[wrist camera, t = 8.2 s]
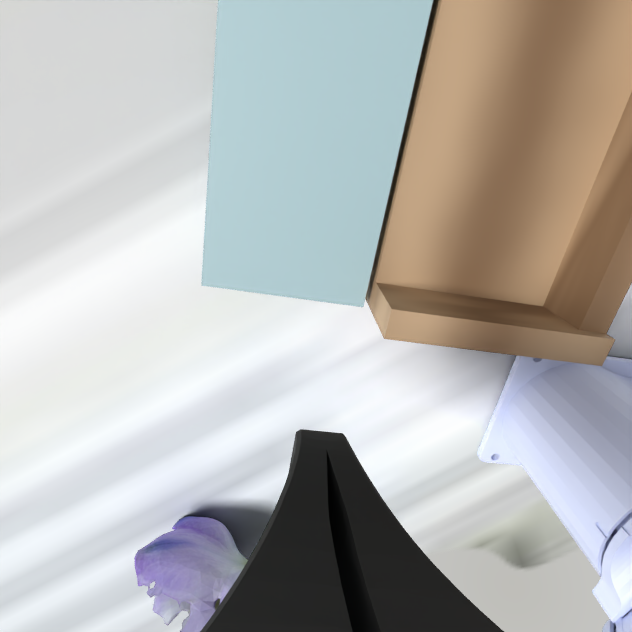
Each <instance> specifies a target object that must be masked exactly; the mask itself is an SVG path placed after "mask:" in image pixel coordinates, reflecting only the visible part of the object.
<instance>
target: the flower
mask: <svg viewBox="0 0 632 632" xmlns="http://www.w3.org/2000/svg"><path fill="white" fill-rule="evenodd" d="M172 529H175V530H174V531H171V532H168V533H166V534H163V535H161V536H160V537H158V538H156V539H155V540H154V541H152V542H151V543H150V544H148V545H147V546H145V547H143V548H142V549H140V550H138V552H137V554H136V556H135V569H136V574H137V579H138V586H142V585H146V586H148V591H147V594H148V595H149V596H150V597H152V596H154V595H155V600H154V606H153V611H154V612H155V613H157V614H158V615H160V616H161V617H162V618H164V622H165V624H166V625H169V624H170V622H171V621H172V620H173V619H174V618H175V617H176V616H177V615H178V614H179V612H181V611H182V610H183V611H188V613H189V616H188V617H187V618H186V619H185V620H184V621H183V623H182V629H181V631H180V632H200V631H201V630H202V629H203V627H204V626H205V625H206V623H207V622H208V621H209V619H210V618H211V616H212V615H213V614H214V612H215V611H216V609H217V608H218V606H219V605H220V603H221V602H222V600H223V599H224V597H225V596H226V594H227V593H228V591H229V590H230V588H231V587H232V585H233V584H234V582H235V581H236V579H237V578H238V576H239V574H240V573H241V571H242V570H243V568H244V566H245V565H246V563H247V561H248V559H246V558H245V557H244V556H243V555H242V554H241V553H240V552H239V551H238V549H237V547H236V544H235V542H234V540H233V537H232V535H231V534H230V532H229V531H228V529H227V528H226V526H225V525H224V524H222V523H221V522H220V521H218V520H215V519H212V518H208V517H193V516H188V517H184V518H181V519H179V521H178V522H177V523H176V524H175V525H174V526H173V527H172ZM153 581H155V583H156V584H155V586H154V588H152V589H150V587H149V586H150V584H151V583H152V582H153Z"/></svg>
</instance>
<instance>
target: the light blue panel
mask: <svg viewBox="0 0 632 632" xmlns="http://www.w3.org/2000/svg"><path fill="white" fill-rule="evenodd" d="M432 3H433V0H218V12H217V29H216V46H215V63H214V80H213V97H212V114H211V131H210V148H209V165H208V182H207V199H206V216H205V233H204V250H203V267H202V286H210V287H217V288H225V289H232V290H239V291H247V292H254V293H262V294H269V295H276V296H284V297H291V298H299V299H306V300H314V301H321V302H328V303H336V304H343V305H351V306H358V307H363V306H364V302H365V297H366V293H367V289H368V284H369V280H370V275H371V271H372V267H373V262H374V258H375V253H376V249H377V245H378V240H379V236H380V231H381V227H382V223H383V218H384V214H385V210H386V205H387V201H388V196H389V192H390V188H391V183H392V179H393V174H394V170H395V166H396V161H397V157H398V152H399V148H400V144H401V139H402V135H403V130H404V126H405V122H406V117H407V113H408V108H409V104H410V100H411V95H412V91H413V86H414V82H415V78H416V73H417V69H418V64H419V60H420V56H421V51H422V47H423V42H424V38H425V34H426V29H427V25H428V20H429V16H430V12H431V7H432Z"/></svg>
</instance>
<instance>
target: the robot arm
mask: <svg viewBox="0 0 632 632" xmlns="http://www.w3.org/2000/svg"><path fill="white" fill-rule="evenodd" d="M493 454H495V455H493ZM477 455H478V457H479V459H480V460H481V461H483V462H490V463H501V464H512V465H522V467H523V468H524V469H525V471H526V472H527V474H528V475H529V477H530V478H531V479H532V481H533V482H534V484H535V485H536V486H537V488H538V489H539V491H540V492H541V494H542V495H543V496H544V498H545V499H546V501H547V502H548V503H549V505H550V506H551V508H552V509H553V510H554V512H555V513H556V515H557V516H558V518H559V519H560V520H561V522H562V523H563V525H564V526H565V527H566V529H567V530H568V532H569V533H570V535H571V536H572V537H573V539H574V540H575V542H576V543H577V544H578V546H579V547H580V549H581V550H582V552H583V553H584V554H585V556H586V557H587V559H588V560H589V561H590V563H591V564H592V566H593V567H594V569H595V570H596V571H597V573H598V574H599V576H600V577H601V578H600V581H599V582H598V584H597V585H596V586H595V588H594V589H593V590H592V593H593V594H594V596H595V597H596V599H597V600H598V602H599V603H600V605H601V606H602V608H603V609H604V611H605V612H606V614H607V615H608V617H609V618H610V619H609V620H607V622H606V623H605V624H604V626H603V629H602V632H632V359H625V358H617V357H609V356H607V357H606V359H605V361H604V363H603V365H602V366H596V365H588V364H581V363H573V362H565V361H557V360H549V359H541V358H535V359H533V357H525V356H516V359H515V361H514V364H513V366H512V368H511V371H510V373H509V376H508V378H507V381H506V383H505V386H504V388H503V391H502V393H501V396H500V398H499V400H498V403H497V405H496V408H495V410H494V413H493V415H492V418H491V420H490V423H489V425H488V427H487V430H486V432H485V435H484V437H483V440H482V442H481V445H480V447H479V450H478V453H477ZM492 455H493V456H492ZM200 632H504V631H502V630H501V629H500V628H499V627H498V626H497V625H496V624H495V623H493V622H492V621H491V620H490V619H489V618H488V617H487V616H486V615H484V613H482V612H481V611H480V610H479V609H478V608H477V607H476V606H475V605H474V604H473V603H472V602H471V601H470V600H468V599H467V598H466V597H465V596H464V595H463V594H462V593H461V592H460V591H459V590H458V589H457V588H456V587H455V586H454V585H453V584H452V583H451V581H450V580H449V579H448V578H447V577H446V576H445V575H444V574H443V573H442V572H441V571H440V570H439V569H438V568H437V567H436V566H435V565H434V564H433V563H432V562H431V561H430V559H429V558H428V557H427V556H426V555H425V554H424V553H423V551H422V550H421V549H420V548H419V547H418V545H417V544H416V543H415V542H414V541H413V539H412V538H411V537H410V536H409V534H408V533H407V532H406V531H405V529H404V528H403V527H402V525H401V524H400V523H399V521H398V520H397V519H396V517H395V516H394V515H393V513H392V512H391V510H390V509H389V508H388V506H387V505H386V503H385V502H384V500H383V499H382V497H381V496H380V494H379V493H378V491H377V490H376V488H375V487H374V485H373V484H372V482H371V480H370V479H369V477H368V476H367V474H366V472H365V471H364V469H363V467H362V466H361V464H360V462H359V460H358V459H357V457H356V455H355V453H354V452H353V450H352V448H351V446H350V444H349V442H348V441H347V439H346V437H345V436H344V434H343V433H332V432H322V431H312V430H299V431H297V432H296V436H295V441H294V447H293V452H292V458H291V463H290V469H289V474H288V477H287V480H286V483H285V486H284V488H283V491H282V493H281V495H280V498H279V500H278V503H277V505H276V507H275V510H274V512H273V514H272V516H271V518H270V520H269V522H268V524H267V526H266V528H265V530H264V532H263V534H262V536H261V538H260V540H259V542H258V544H257V545H256V547H255V549H254V551H253V552H252V554H251V556H250V558H249V559H248V561H247V563H246V565H245V566H244V568H243V570H242V571H241V573H240V574H239V576H238V578H237V579H236V581H235V582H234V584H233V585H232V587H231V588H230V590H229V591H228V593H227V594H226V596H225V597H224V599H223V600H222V602H221V603H220V605H219V606H218V608H217V609H216V611H215V612H214V614H213V615H212V616H211V618H210V619H209V621H208V622H207V623H206V625H205V626H204V627H203V629H202V630H201V631H200Z"/></svg>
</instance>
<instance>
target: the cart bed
mask: <svg viewBox="0 0 632 632" xmlns="http://www.w3.org/2000/svg"><path fill="white" fill-rule="evenodd" d="M631 283H632V0H433V3H432V7H431V12H430V16H429V20H428V25H427V29H426V34H425V38H424V42H423V47H422V51H421V56H420V60H419V64H418V69H417V73H416V78H415V82H414V86H413V91H412V95H411V100H410V104H409V108H408V113H407V117H406V122H405V126H404V130H403V135H402V139H401V144H400V148H399V152H398V157H397V161H396V166H395V170H394V174H393V179H392V183H391V188H390V192H389V196H388V201H387V205H386V210H385V214H384V218H383V223H382V227H381V231H380V236H379V240H378V245H377V249H376V253H375V258H374V262H373V267H372V271H371V275H370V280H369V284H368V289H367V293H366V297H365V299H366V301H367V303H368V305H369V307H370V309H371V312H372V314H373V316H374V318H375V320H376V322H377V324H378V327H379V329H380V331H381V333H382V335H383V337H384V339H391V340H399V341H407V342H415V343H422V344H430V345H438V346H446V347H454V348H462V349H470V350H478V351H486V352H494V353H501V354H509V355H517V356H525V357H533V358H541V359H549V360H557V361H565V362H573V363H581V364H588V365H596V366H602V365H603V363H604V361H605V359H606V357H607V355H608V353H609V351H610V349H611V347H612V345H613V343H614V341H615V339H614V338H612V337H610V336H609V335H607V334H606V333H607V331H608V329H609V327H610V325H611V323H612V321H613V319H614V317H615V315H616V313H617V311H618V309H619V307H620V305H621V303H622V301H623V299H624V297H625V295H626V293H627V291H628V289H629V287H630V285H631Z"/></svg>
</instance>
